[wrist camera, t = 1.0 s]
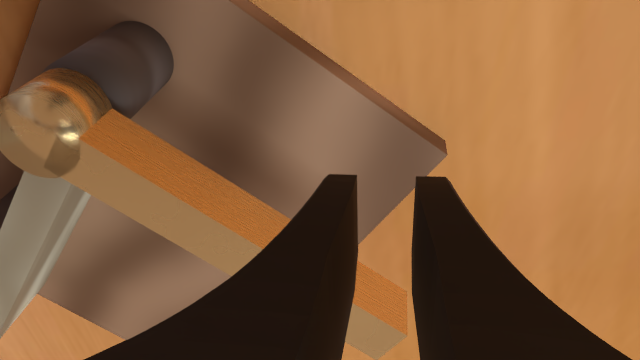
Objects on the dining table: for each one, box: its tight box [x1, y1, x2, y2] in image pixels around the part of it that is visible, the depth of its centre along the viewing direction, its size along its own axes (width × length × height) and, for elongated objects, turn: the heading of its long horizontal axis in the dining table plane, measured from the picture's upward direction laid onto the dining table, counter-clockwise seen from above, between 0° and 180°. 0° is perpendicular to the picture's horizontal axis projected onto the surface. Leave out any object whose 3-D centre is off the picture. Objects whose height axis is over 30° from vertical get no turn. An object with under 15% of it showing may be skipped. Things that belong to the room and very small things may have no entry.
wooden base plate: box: [0, 0, 447, 340], centre depth 22 cm, size 16×20×8 cm
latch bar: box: [0, 68, 407, 360], centre depth 16 cm, size 14×3×2 cm, turn 56°
